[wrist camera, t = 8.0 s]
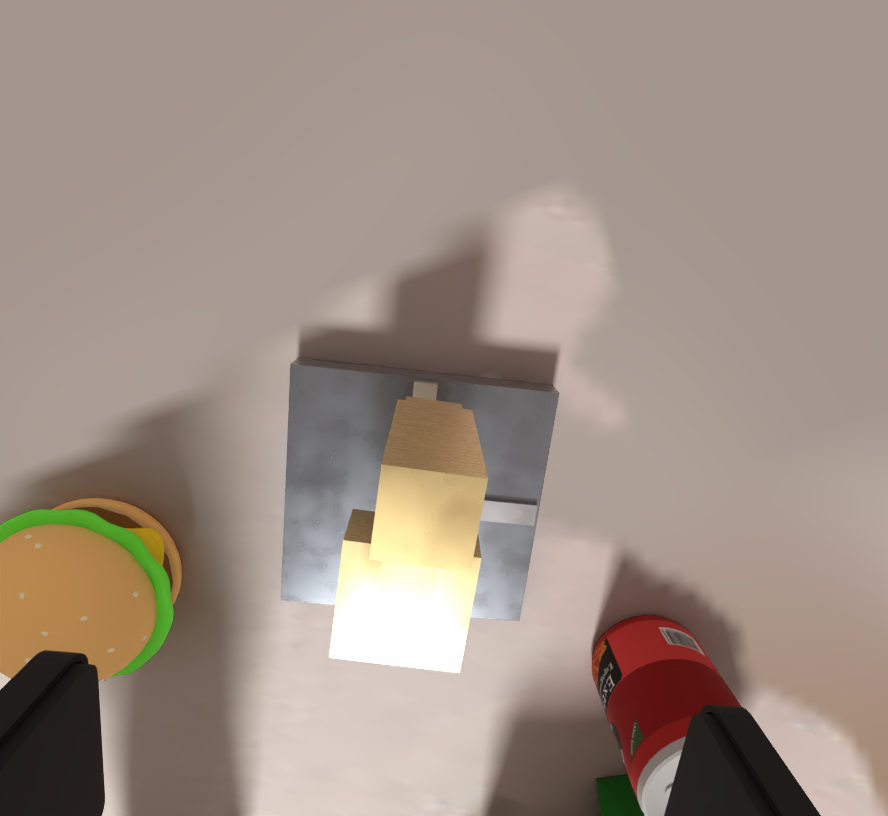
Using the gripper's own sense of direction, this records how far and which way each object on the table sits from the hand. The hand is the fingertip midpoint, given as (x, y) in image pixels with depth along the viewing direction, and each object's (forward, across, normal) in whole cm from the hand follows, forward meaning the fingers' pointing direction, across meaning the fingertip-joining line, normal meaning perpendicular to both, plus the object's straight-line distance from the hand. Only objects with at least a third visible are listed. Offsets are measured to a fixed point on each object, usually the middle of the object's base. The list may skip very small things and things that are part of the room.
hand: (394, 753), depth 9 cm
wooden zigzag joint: (+18, 0, +4) cm, 18 cm away
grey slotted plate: (+28, 0, +8) cm, 29 cm away
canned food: (+28, -18, +19) cm, 38 cm away
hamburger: (+28, +20, +15) cm, 38 cm away
